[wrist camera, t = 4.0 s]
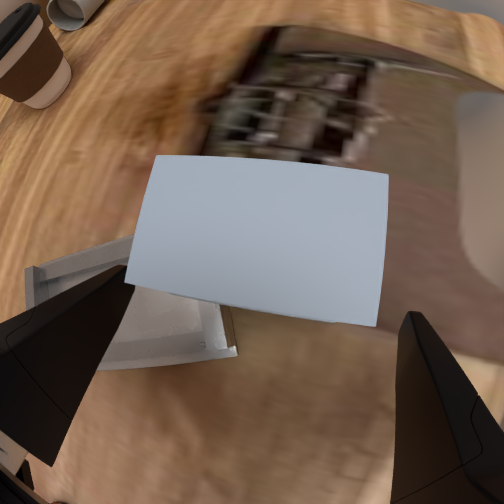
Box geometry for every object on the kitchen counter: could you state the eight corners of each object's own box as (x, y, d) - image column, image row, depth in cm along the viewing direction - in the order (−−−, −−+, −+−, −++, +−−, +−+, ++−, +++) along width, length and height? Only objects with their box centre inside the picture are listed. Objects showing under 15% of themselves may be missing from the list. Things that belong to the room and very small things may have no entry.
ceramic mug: (119, -7, 32) (98, -38, 24) (94, 24, 30) (68, -9, 23) (76, 10, 34) (55, -15, 27) (51, 41, 33) (26, 15, 26)
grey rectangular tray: (212, 213, 20) (202, 202, 18) (238, 355, 18) (229, 359, 16) (41, 265, 23) (24, 261, 21) (51, 371, 20) (34, 373, 18)
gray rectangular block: (333, 320, 18) (374, 328, 6) (235, 304, 19) (123, 284, 7) (342, 261, 18) (388, 172, 7) (245, 247, 20) (157, 153, 8)
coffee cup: (61, 55, 30) (14, 6, 19) (103, 57, 27) (49, -9, 16) (14, 119, 29) (-43, 76, 18) (45, 133, 26) (-28, 79, 15)
